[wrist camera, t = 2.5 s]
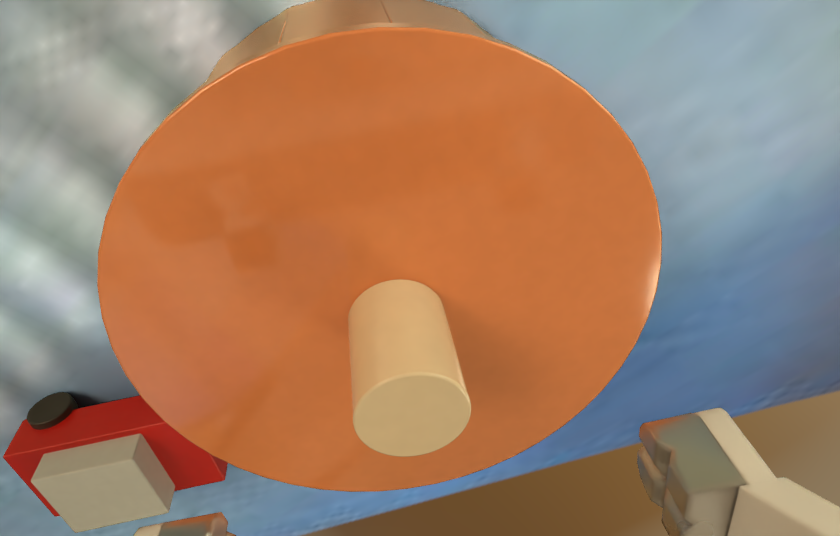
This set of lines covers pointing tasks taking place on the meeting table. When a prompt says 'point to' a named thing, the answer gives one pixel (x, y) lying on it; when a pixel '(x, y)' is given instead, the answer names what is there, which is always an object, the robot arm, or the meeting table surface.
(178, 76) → the meeting table surface
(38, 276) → the meeting table surface
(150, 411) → the car
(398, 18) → the pot
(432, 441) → the lid
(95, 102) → the meeting table surface
